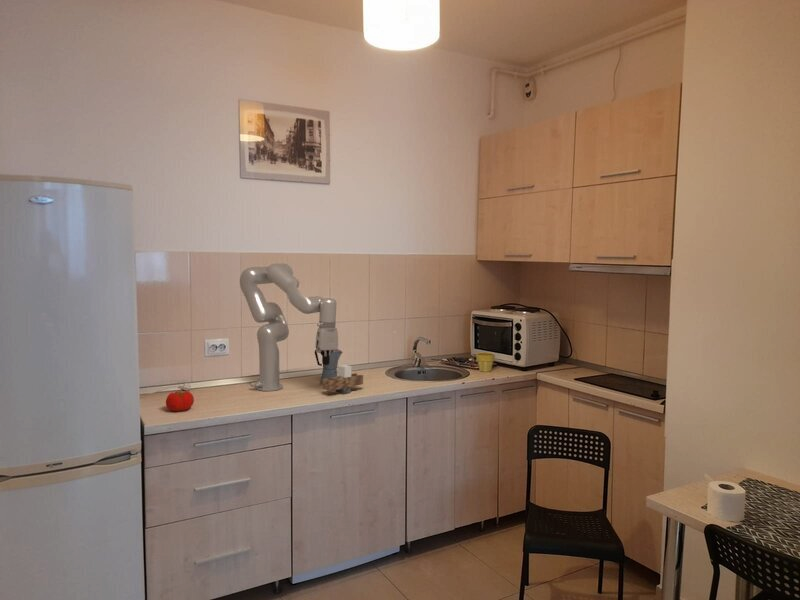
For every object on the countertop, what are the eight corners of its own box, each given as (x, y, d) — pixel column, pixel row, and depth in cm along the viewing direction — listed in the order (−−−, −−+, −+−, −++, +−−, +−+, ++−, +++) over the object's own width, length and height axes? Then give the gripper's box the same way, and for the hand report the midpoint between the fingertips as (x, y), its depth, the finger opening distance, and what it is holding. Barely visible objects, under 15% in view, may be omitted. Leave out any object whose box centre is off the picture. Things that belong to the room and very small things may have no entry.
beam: (329, 397, 251) (330, 381, 251) (321, 394, 256) (321, 379, 255) (363, 390, 265) (363, 375, 265) (355, 387, 270) (355, 373, 269)
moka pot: (339, 386, 273) (340, 346, 271) (310, 384, 276) (310, 345, 274) (345, 381, 282) (345, 343, 281) (317, 380, 285) (317, 342, 284)
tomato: (196, 405, 235) (195, 388, 235) (190, 413, 224) (189, 395, 224) (170, 406, 234) (169, 389, 233) (163, 414, 223) (162, 396, 222)
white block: (344, 382, 258) (344, 367, 257) (338, 380, 261) (338, 365, 261) (351, 381, 260) (351, 366, 260) (344, 379, 264) (344, 364, 263)
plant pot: (484, 368, 321) (484, 351, 320) (498, 371, 313) (498, 354, 312) (472, 370, 314) (472, 353, 313) (485, 373, 306) (486, 356, 306)
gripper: (318, 327, 244) (317, 367, 246) (345, 325, 254) (343, 364, 256) (309, 325, 249) (307, 364, 251) (335, 323, 260) (333, 361, 261)
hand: (325, 364), depth 254 cm, fingers closed
